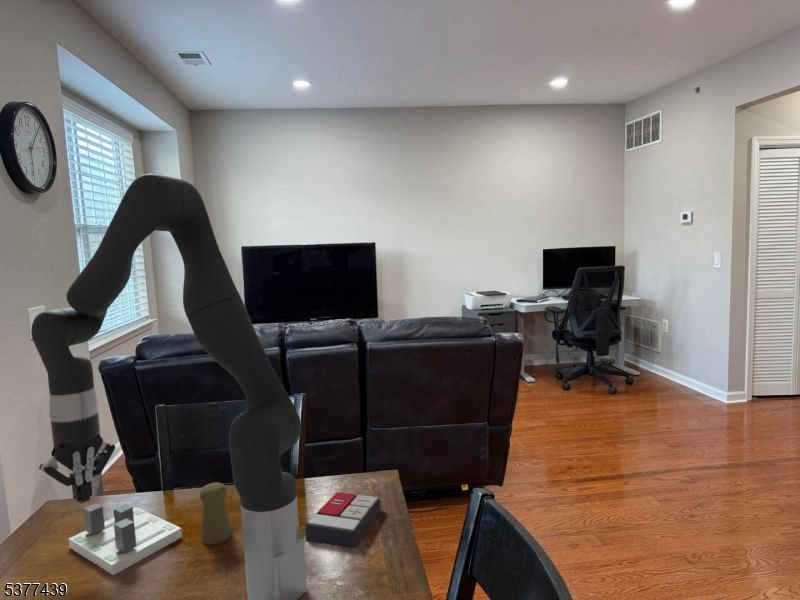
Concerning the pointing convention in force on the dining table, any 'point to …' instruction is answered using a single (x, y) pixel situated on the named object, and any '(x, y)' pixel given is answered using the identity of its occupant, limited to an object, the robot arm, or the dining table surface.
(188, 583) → the dining table surface
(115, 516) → the middle breaker handle
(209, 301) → the robot arm
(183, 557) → the dining table surface
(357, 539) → the calculator
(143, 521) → the breaker panel
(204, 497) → the cork
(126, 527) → the handle
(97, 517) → the far breaker handle
